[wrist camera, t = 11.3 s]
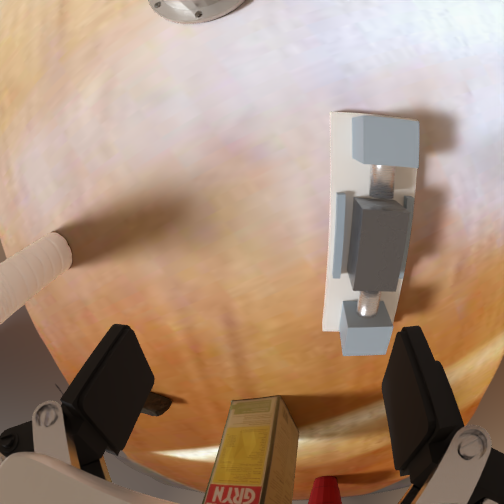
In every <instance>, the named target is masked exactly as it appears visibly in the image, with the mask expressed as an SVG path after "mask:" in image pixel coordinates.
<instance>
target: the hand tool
mask: <svg viewBox="0 0 504 504" xmlns="http://www.w3.org/2000/svg"><path fill="white" fill-rule="evenodd" d="M171 403H172V401H171V400H169V399H168V398H166V397H163V396H161V395H157V394H154V393H151V392H150V393H149V395H148V397H147V400H146V402H145V404H144V406H143V408H142V410H141V412H140V413H145V414H148V415H151V416H159V415H162V414H163V413H164V412H165V411H167V410H168V409H169V407H170V406H171Z"/></svg>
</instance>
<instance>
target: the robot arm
mask: <svg viewBox="0 0 504 504" xmlns="http://www.w3.org/2000/svg"><path fill="white" fill-rule="evenodd" d="M244 1H245V0H148V2H149V5H150V6H151V8H152V9H153V10H154V11H155V12H156V13H157V14H158V15H160V16H161V17H163V18H164V19H166V20H169V21H172V22H175V23H182V24H195V23H202V22H206V21H210V20H213V19H216V18H219V17H221V16H223V15H226V14H227V13H229V12H231V11H232V10H234V9H236V8H237V7H238V6H239V5H241V4H242V3H243V2H244ZM201 15H202V16H201ZM200 16H201V17H200ZM153 385H154V375H153V373H152V371H151V369H150V367H149V365H148V362H147V360H146V358H145V356H144V354H143V351H142V349H141V347H140V344H139V342H138V340H137V337H136V335H135V333H134V331H133V330H132V329H131V328H130V327H129V326H128V325H121V324H114V325H113V326H112V327H111V328H110V329H109V331H108V332H107V333H106V335H105V336H104V337H103V339H102V340H101V341H100V343H99V344H98V346H97V347H96V348H95V350H94V351H93V353H92V354H91V355H90V357H89V358H88V360H87V361H86V362H85V364H84V365H83V367H82V368H81V370H80V371H79V373H78V374H77V375H76V377H75V378H74V380H73V381H72V383H71V384H70V386H69V387H68V389H67V391H66V392H65V393H64V395H63V396H62V398H61V399H60V400H61V402H62V405H61V406H60V405H59V403H57V402H55V401H46V402H44V403H41V404H40V405H39V406H38V407H37V408H36V409H35V411H34V413H33V417H32V421H29V422H26V423H23V424H21V425H18V426H15V427H12V428H9V429H7V430H5V431H4V432H3V433H2V434H1V436H0V504H178V503H174V502H170V501H167V500H163V499H159V498H155V497H152V496H149V495H146V494H143V493H139V492H136V491H133V490H130V489H128V488H125V487H122V486H119V485H117V484H114V483H112V481H111V478H110V475H109V472H108V469H107V466H106V463H105V460H104V457H103V454H104V452H105V451H106V452H108V453H111V454H114V455H116V456H118V454H119V452H120V450H123V449H124V447H125V445H126V443H127V441H128V439H129V436H130V434H131V432H132V430H133V428H134V425H135V423H136V421H137V419H138V417H139V415H140V412H141V410H142V408H143V406H144V404H145V402H146V400H147V397H148V395H149V393H150V391H151V389H152V387H153ZM382 393H383V399H384V404H385V409H386V414H387V420H388V426H389V432H390V438H391V444H392V451H393V459H394V466H395V469H396V470H400V476H405V475H410V481H411V483H412V484H411V486H410V488H409V489H408V490H407V492H406V493H405V495H404V496H403V497H402V499H401V500H400V501H399V503H398V504H504V454H503V453H501V452H499V451H497V450H495V449H493V448H491V446H492V445H491V438H490V436H489V434H488V432H487V431H486V430H485V429H484V428H482V427H480V426H476V425H467V426H465V427H464V424H463V421H462V417H461V414H460V412H459V409H458V406H457V403H456V400H455V397H454V395H453V392H452V389H451V387H450V384H449V381H448V379H447V376H446V374H445V371H444V369H443V367H442V365H441V363H440V362H439V361H435V360H434V357H433V355H432V352H431V350H430V348H429V345H428V343H427V341H426V339H425V336H424V334H423V332H422V330H421V328H420V326H410V327H403V328H402V330H401V332H398V333H397V335H396V338H395V342H394V345H393V349H392V353H391V356H390V359H389V363H388V366H387V369H386V372H385V375H384V378H383V382H382Z"/></svg>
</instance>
